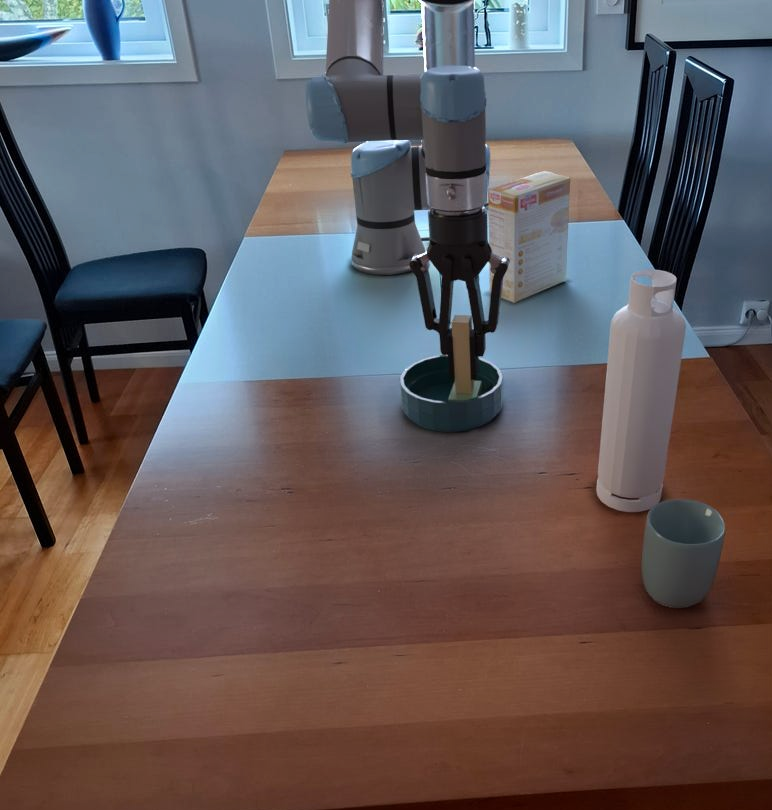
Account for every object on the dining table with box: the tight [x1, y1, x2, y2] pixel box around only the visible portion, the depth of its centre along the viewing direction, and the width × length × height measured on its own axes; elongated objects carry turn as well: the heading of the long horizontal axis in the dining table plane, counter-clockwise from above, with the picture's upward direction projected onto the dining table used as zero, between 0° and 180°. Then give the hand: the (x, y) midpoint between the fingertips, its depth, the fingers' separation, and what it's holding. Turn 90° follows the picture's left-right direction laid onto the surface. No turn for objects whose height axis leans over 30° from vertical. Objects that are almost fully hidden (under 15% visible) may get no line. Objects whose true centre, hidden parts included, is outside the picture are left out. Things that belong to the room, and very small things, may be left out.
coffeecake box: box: [487, 170, 571, 304], centre depth 150 cm, size 15×7×20 cm, turn 134°
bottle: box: [595, 269, 687, 513], centre depth 93 cm, size 8×8×28 cm
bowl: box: [399, 354, 504, 433], centre depth 118 cm, size 15×15×5 cm
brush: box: [448, 314, 482, 401], centre depth 115 cm, size 6×4×13 cm, turn 171°
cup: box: [640, 498, 726, 609], centre depth 84 cm, size 8×8×10 cm
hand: (464, 374), depth 116 cm, fingers closed on brush, 2 cm apart
